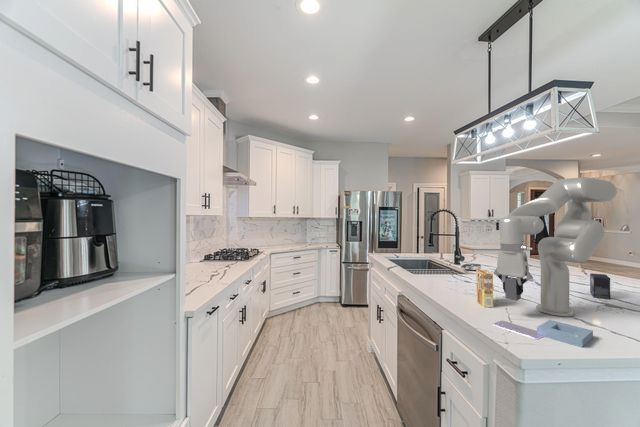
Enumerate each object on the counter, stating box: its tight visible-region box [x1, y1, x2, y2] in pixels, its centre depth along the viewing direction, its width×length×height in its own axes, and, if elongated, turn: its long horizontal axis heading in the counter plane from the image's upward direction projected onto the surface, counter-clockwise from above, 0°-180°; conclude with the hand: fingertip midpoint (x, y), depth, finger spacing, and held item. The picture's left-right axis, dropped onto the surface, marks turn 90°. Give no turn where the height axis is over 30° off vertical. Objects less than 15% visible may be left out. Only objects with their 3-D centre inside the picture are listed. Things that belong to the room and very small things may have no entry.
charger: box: [504, 276, 522, 301], centre depth 118 cm, size 4×4×8 cm
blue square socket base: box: [536, 319, 594, 348], centre depth 99 cm, size 12×12×3 cm
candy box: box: [476, 268, 494, 308], centre depth 133 cm, size 9×4×15 cm, turn 171°
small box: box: [589, 272, 611, 300], centre depth 146 cm, size 11×6×10 cm, turn 144°
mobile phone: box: [492, 320, 546, 341], centre depth 105 cm, size 8×1×15 cm
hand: (512, 292), depth 118 cm, fingers closed on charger, 4 cm apart
